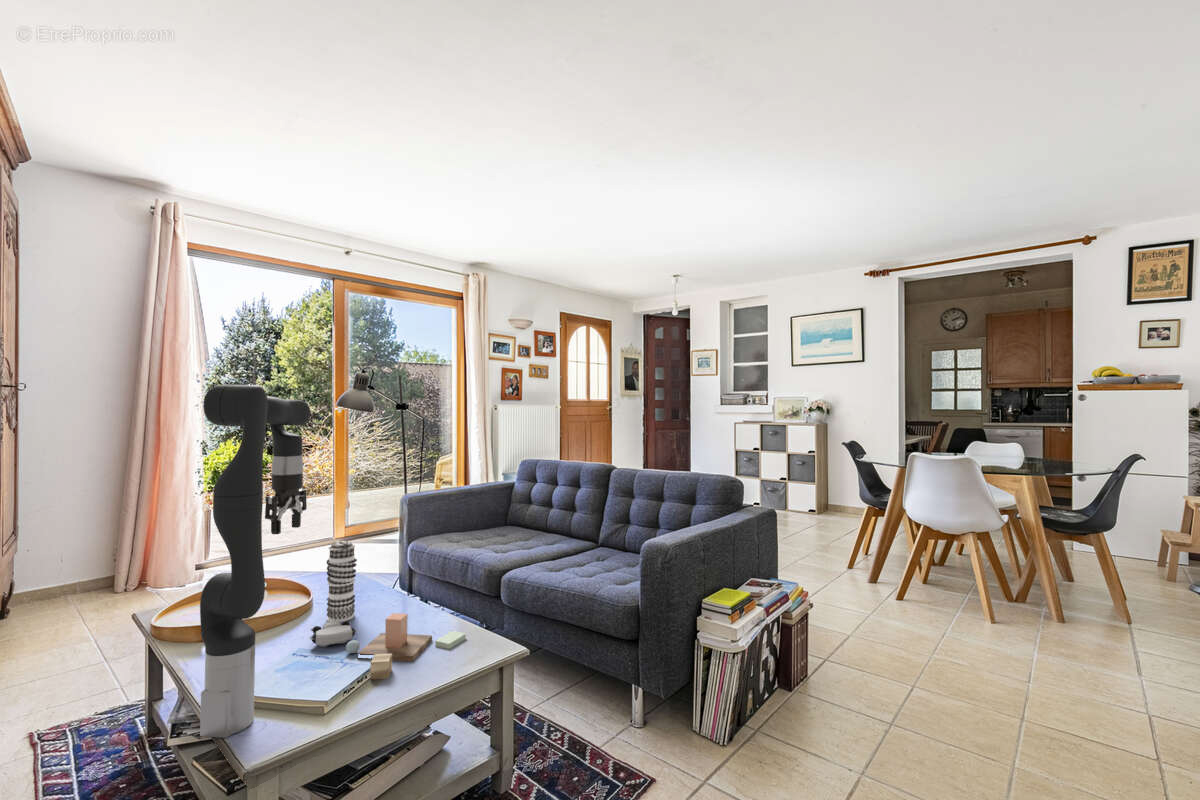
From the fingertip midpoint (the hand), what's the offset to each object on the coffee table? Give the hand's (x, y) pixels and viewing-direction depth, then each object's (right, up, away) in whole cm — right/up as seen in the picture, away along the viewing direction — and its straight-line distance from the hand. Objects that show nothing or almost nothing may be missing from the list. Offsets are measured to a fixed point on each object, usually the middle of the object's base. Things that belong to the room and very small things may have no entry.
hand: (286, 530), depth 153 cm
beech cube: (+29, -37, -7) cm, 47 cm away
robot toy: (+6, -37, +14) cm, 40 cm away
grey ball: (+16, -35, +5) cm, 38 cm away
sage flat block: (+42, -37, +13) cm, 58 cm away
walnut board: (+27, -37, +8) cm, 46 cm away
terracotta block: (+27, -35, +8) cm, 45 cm away
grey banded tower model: (0, -37, +32) cm, 48 cm away
